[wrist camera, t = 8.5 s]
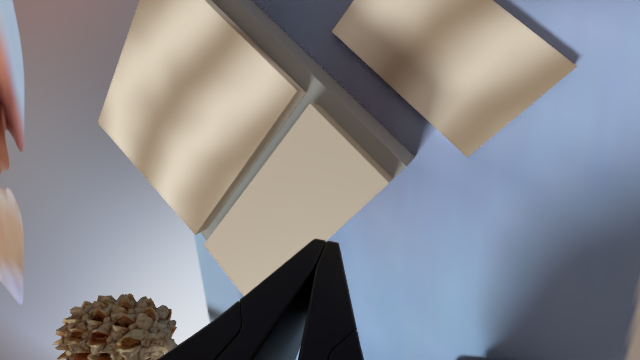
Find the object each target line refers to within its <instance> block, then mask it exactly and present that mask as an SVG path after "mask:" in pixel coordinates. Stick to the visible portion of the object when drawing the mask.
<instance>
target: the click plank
mask: <svg viewBox="0 0 640 360" xmlns="http://www.w3.org/2000/svg"><path fill="white" fill-rule="evenodd" d="M305 94H306V92H305V91H304V90H303V89H302V88H301V87H300V86H299V85H298V84H297V83H296V82H295V81H294V80H293V79H292V78H291V77H290V76H289V75H288V74H287V73H286V72H285V71H284V70H283V69H281V68H280V67H279V66H278V65H277V64H276V63H275V62H274V61H273V60H272V59H271V58H270V57H269V56H268V55H267V54H266V53H265V52H264V51H263V50H262V49H261V48H260V47H259V46H258V45H257V44H256V43H255V42H254V41H253V40H252V39H251V38H250V37H249V36H248V35H246V34H245V33H244V32H243V31H242V30H241V29H240V28H239V27H238V26H237V25H236V24H235V23H234V22H233V21H232V20H231V19H230V18H229V17H228V16H227V15H226V14H225V13H224V12H223V11H222V10H221V9H220V8H219V7H218V6H217V5H216V4H215V3H214V2H213V1H212V0H140V1H139V4H138V7H137V9H136V12H135V15H134V18H133V21H132V24H131V27H130V30H129V33H128V36H127V39H126V42H125V45H124V47H123V50H122V53H121V56H120V59H119V62H118V65H117V68H116V71H115V74H114V77H113V80H112V83H111V86H110V88H109V91H108V94H107V97H106V100H105V103H104V106H103V109H102V112H101V115H100V118H99V121H98V123H99V124H100V126H101V127H102V128H103V129H104V130H105V131H106V132H107V134H108V135H109V136H110V137H111V138H112V139H113V140H114V142H115V143H116V144H117V145H118V146H119V147H120V149H121V150H122V151H123V152H124V153H125V154H126V156H127V157H128V158H129V159H130V160H131V161H132V162H133V163H134V165H135V166H136V167H137V168H138V169H139V170H140V172H141V173H142V174H143V175H144V176H145V177H146V179H148V181H149V182H150V183H151V184H152V185H153V187H154V188H155V189H156V190H157V191H158V192H159V194H160V195H161V196H162V197H163V198H164V199H165V200H166V202H167V203H168V204H169V205H170V206H171V207H172V209H173V210H174V211H175V212H176V213H177V214H178V215H179V217H180V218H181V219H182V220H183V221H184V222H185V224H186V225H187V226H188V227H189V228H190V229H191V230H192V232H193V233H194V234H195V235H196V234H198V233H200V232H202V231H204V230H206V229H207V228H208V227H209V225H210V224H211V223H212V221H213V220H214V218H215V217H216V216H217V214H218V213H219V212H220V210H221V209H222V207H223V206H224V205H225V203H226V202H227V201H228V199H229V198H230V197H231V195H232V194H233V192H234V191H235V190H236V188H237V187H238V186H239V184H240V183H241V181H242V180H243V179H244V177H245V176H246V175H247V173H248V172H249V170H250V169H251V168H252V166H253V165H254V164H255V162H256V161H257V159H258V158H259V157H260V155H261V154H262V153H263V151H264V150H265V148H266V147H267V146H268V144H269V143H270V142H271V140H272V139H273V137H274V136H275V135H276V133H277V132H278V131H279V129H280V128H281V126H282V125H283V124H284V122H285V121H286V120H287V118H288V117H289V116H290V114H291V113H292V111H293V110H294V109H295V107H296V106H297V105H298V103H299V102H300V100H301V99H302V98H303V96H304V95H305Z"/></svg>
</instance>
